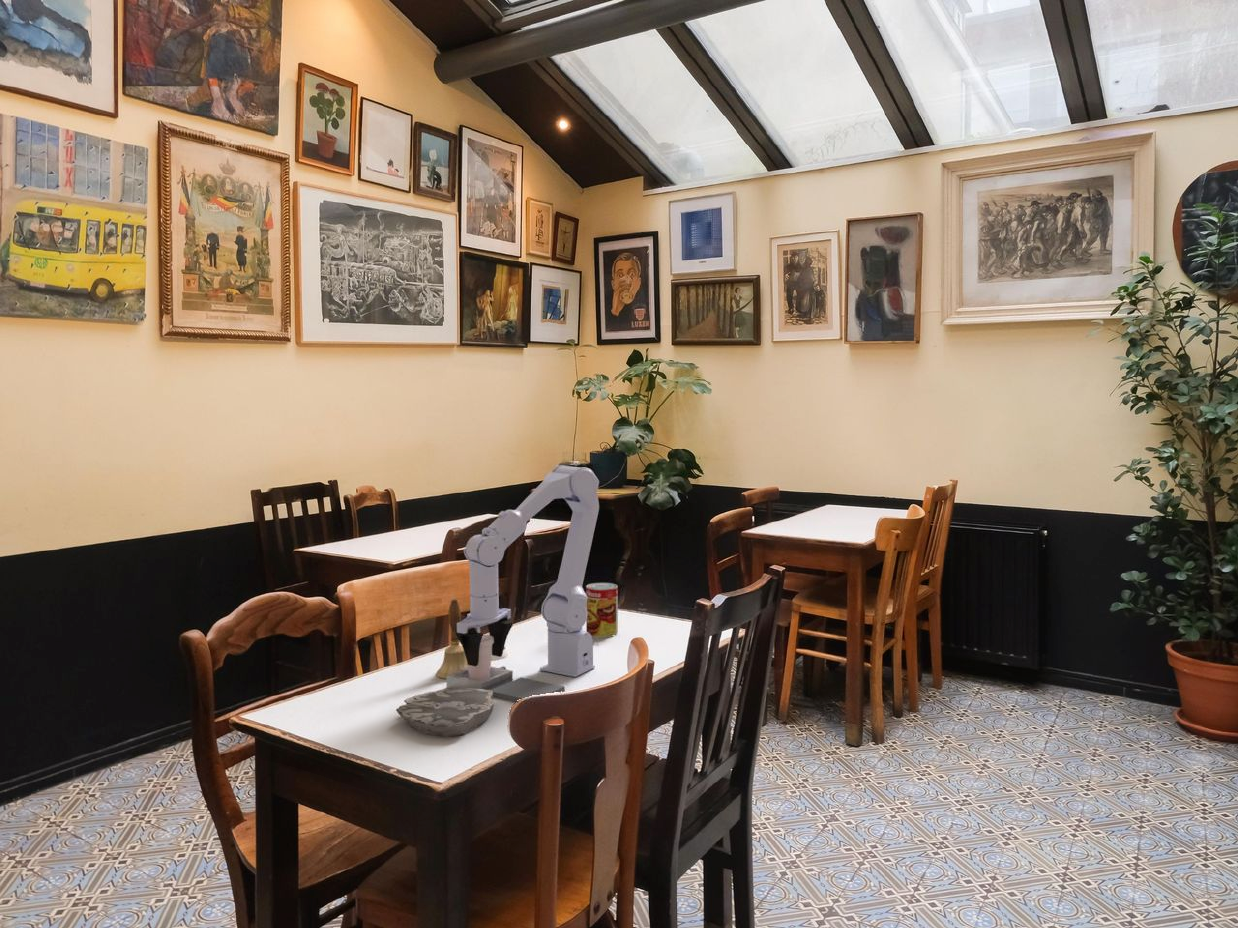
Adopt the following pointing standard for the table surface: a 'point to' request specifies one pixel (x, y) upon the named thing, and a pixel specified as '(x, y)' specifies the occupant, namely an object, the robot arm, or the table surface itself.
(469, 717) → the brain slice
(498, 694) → the mat
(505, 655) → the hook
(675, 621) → the table surface
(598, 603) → the canned food
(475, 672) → the smoothie
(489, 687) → the holder
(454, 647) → the hand bell
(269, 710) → the table surface
